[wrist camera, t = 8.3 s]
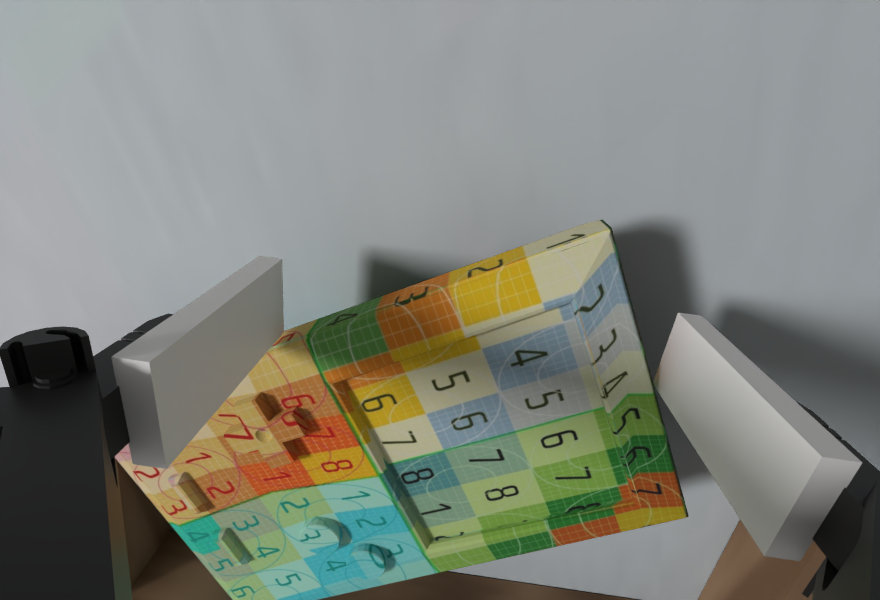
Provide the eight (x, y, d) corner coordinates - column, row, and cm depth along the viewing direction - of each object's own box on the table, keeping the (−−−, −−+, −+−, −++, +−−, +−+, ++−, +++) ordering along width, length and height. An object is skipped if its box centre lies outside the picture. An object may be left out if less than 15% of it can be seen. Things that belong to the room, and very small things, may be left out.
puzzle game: (57, 431, 16) (621, 236, 12) (145, 363, 20) (582, 202, 16) (231, 632, 20) (700, 538, 16) (274, 539, 24) (652, 446, 20)
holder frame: (805, 466, 20) (881, 548, 16) (711, 630, 24) (754, 723, 21) (111, 368, 20) (31, 425, 17) (147, 546, 25) (90, 622, 21)
